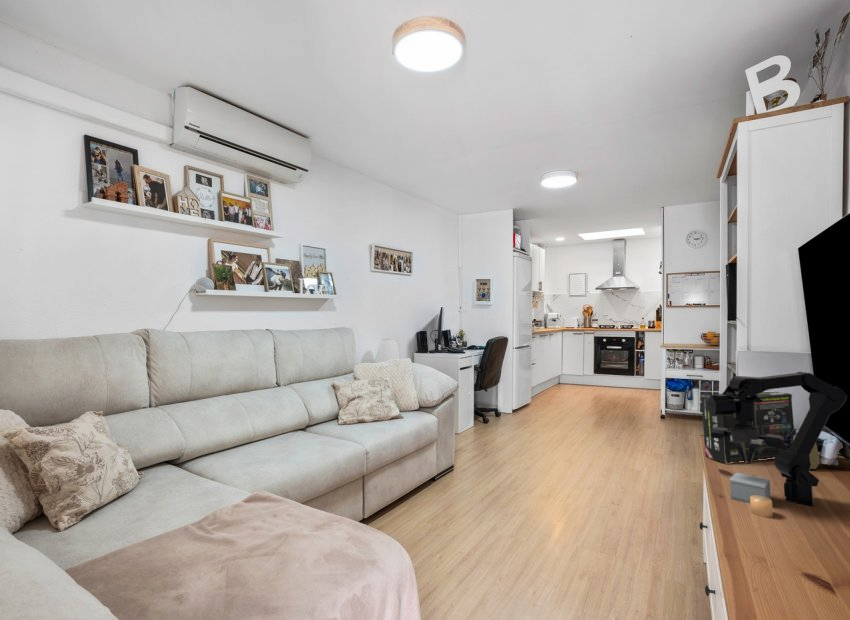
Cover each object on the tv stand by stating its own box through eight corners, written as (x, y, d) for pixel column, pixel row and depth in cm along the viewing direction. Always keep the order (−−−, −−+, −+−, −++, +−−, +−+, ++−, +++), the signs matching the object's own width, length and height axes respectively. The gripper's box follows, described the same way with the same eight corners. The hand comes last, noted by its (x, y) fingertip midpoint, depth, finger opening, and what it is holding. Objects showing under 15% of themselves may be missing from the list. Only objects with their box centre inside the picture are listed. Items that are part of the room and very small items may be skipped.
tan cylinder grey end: (774, 513, 128) (773, 498, 128) (771, 519, 124) (770, 503, 124) (752, 508, 132) (752, 493, 132) (749, 513, 128) (748, 498, 128)
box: (770, 498, 139) (769, 481, 139) (765, 506, 132) (764, 489, 133) (737, 490, 145) (736, 474, 145) (731, 498, 139) (730, 481, 139)
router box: (772, 450, 187) (769, 389, 188) (798, 457, 176) (794, 393, 177) (702, 456, 182) (698, 394, 183) (724, 465, 171) (720, 398, 172)
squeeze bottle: (787, 466, 167) (785, 420, 167) (799, 463, 170) (796, 418, 170) (813, 472, 159) (810, 424, 160) (824, 469, 162) (821, 422, 163)
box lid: (770, 481, 139) (769, 479, 139) (764, 488, 132) (764, 486, 132) (735, 474, 145) (735, 472, 145) (729, 481, 139) (729, 479, 139)
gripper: (705, 415, 140) (707, 462, 139) (777, 423, 126) (780, 476, 126) (713, 410, 148) (716, 455, 147) (783, 417, 134) (786, 467, 133)
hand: (747, 463), depth 138 cm, fingers closed
